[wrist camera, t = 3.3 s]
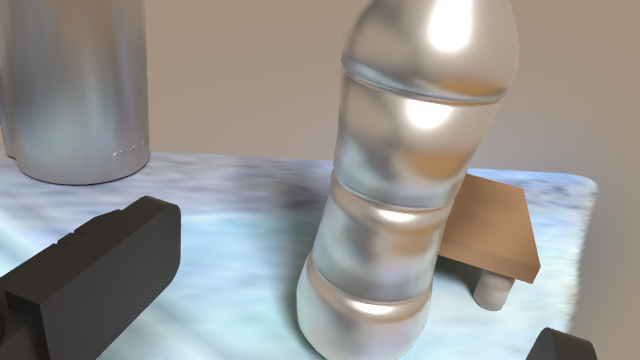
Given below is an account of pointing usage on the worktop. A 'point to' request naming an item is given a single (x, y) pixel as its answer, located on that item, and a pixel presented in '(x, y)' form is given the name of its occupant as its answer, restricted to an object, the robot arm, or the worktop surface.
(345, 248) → the plastic bottle
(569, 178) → the worktop surface
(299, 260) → the worktop surface
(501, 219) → the pegged shelf
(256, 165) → the worktop surface
